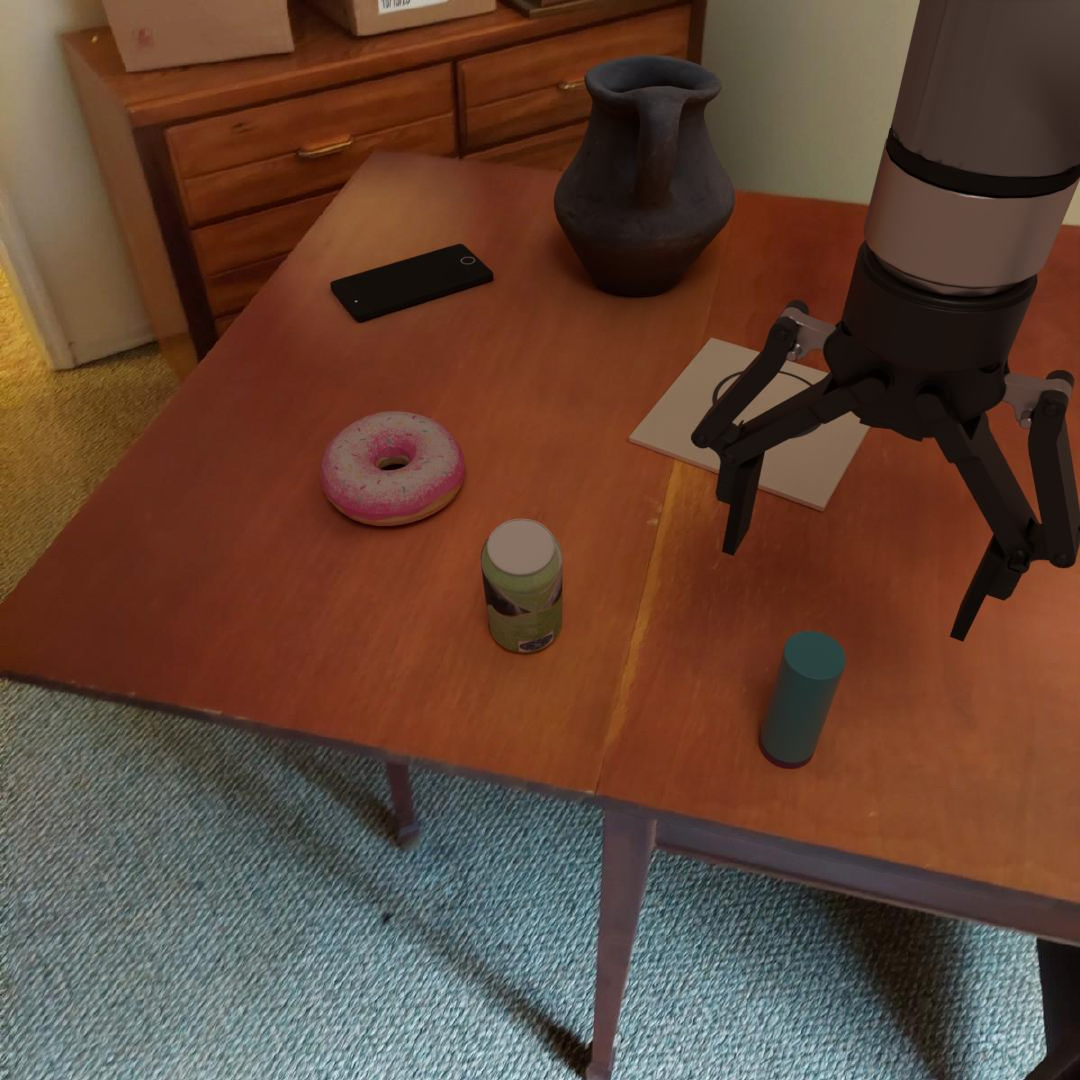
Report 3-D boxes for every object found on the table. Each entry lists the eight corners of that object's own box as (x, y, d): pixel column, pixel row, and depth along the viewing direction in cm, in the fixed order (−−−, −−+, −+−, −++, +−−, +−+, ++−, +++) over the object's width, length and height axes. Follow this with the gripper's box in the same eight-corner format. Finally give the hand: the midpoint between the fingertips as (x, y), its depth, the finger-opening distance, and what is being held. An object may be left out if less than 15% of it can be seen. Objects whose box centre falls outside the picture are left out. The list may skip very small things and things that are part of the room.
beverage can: (555, 596, 81) (554, 493, 72) (571, 665, 76) (573, 563, 67) (481, 606, 80) (472, 503, 71) (493, 677, 75) (484, 575, 66)
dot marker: (821, 736, 71) (854, 645, 63) (802, 778, 68) (834, 688, 61) (770, 713, 72) (796, 621, 64) (750, 753, 70) (774, 662, 62)
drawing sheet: (888, 396, 99) (889, 390, 99) (822, 512, 87) (824, 506, 87) (710, 341, 107) (711, 335, 106) (628, 441, 95) (628, 435, 94)
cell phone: (495, 280, 116) (495, 273, 115) (357, 323, 110) (356, 316, 109) (462, 249, 121) (461, 242, 121) (329, 288, 115) (328, 281, 114)
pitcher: (708, 231, 124) (734, 23, 106) (739, 325, 109) (775, 101, 91) (550, 236, 123) (549, 28, 106) (558, 331, 108) (559, 107, 90)
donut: (387, 560, 84) (380, 520, 80) (295, 491, 90) (284, 450, 87) (495, 483, 91) (492, 443, 87) (402, 424, 97) (396, 384, 94)
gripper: (1281, 284, 39) (1078, 615, 54) (713, 159, 48) (675, 474, 63) (1276, 381, 35) (1056, 712, 50) (650, 224, 43) (626, 546, 59)
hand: (843, 580), depth 57 cm, fingers open, 13 cm apart
